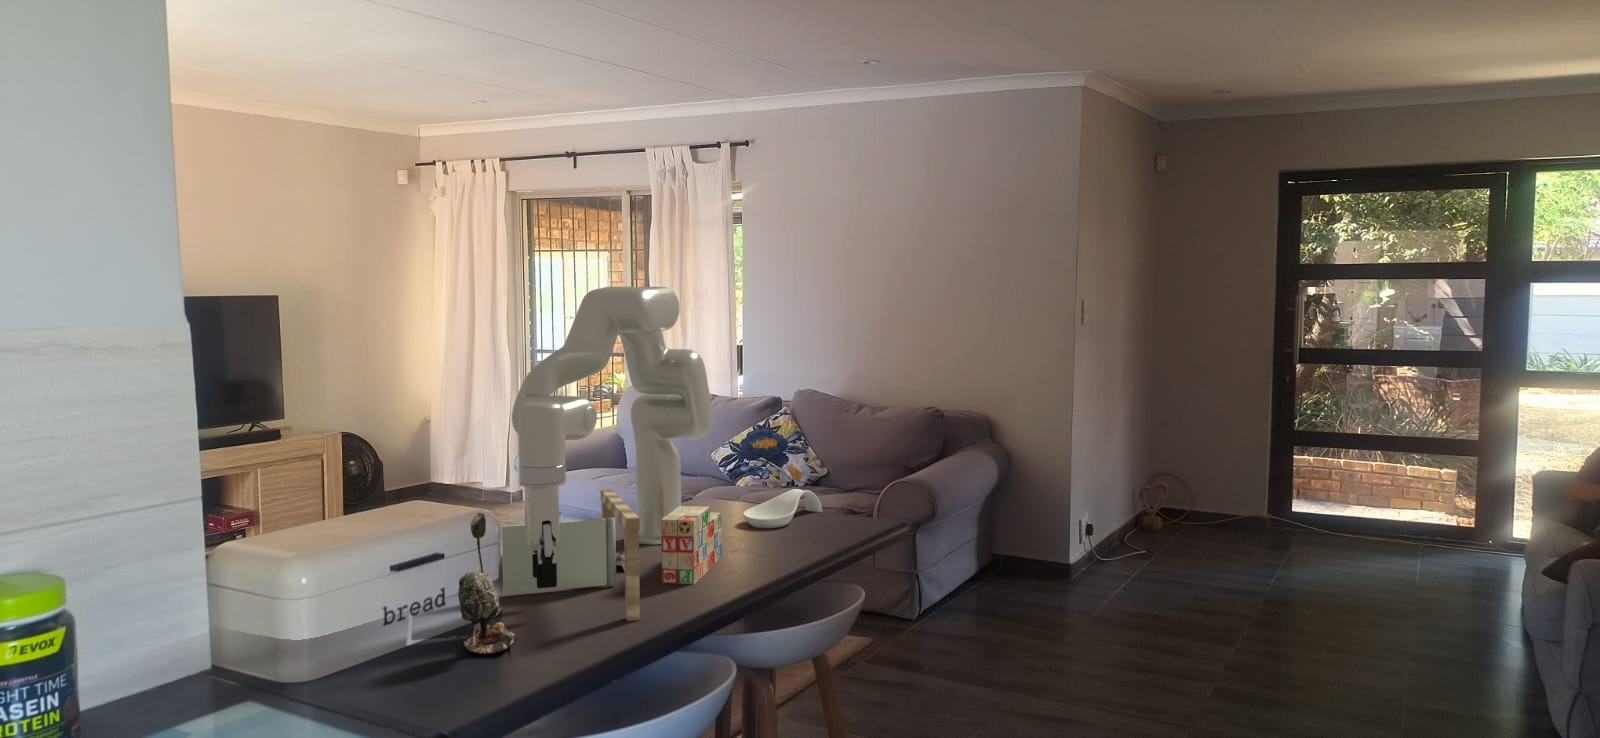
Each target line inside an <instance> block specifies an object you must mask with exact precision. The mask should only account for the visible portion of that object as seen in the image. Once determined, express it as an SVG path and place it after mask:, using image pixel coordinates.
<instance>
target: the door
mask: <svg viewBox="0 0 1600 738" xmlns="http://www.w3.org/2000/svg"><path fill="white" fill-rule="evenodd" d="M606 536H607V569H606ZM616 538H617V537H616V517H614V518H606V519H605V518H602V517H601V518H592V519H591V518H590V519H575V520H562V521H561V520H560V527H559V543H558V544H557V545H556V546H555V558H556V563H557V586H556V587H549V588H538V587H537V578H534V577H533V562H532V554H534V553H533V548H531V547H530V546H529V545H528V543H527V541H526V539H525V523H521V524H504V525H501V546H502V547H501V548H502V549H501V552H502V553H501V554H502V559H501V560H502V588H503V589H502V593H503V595H513V594H524V593H534V592H535V593H536V592H546V591H557V590H567V589H568V590H569V589H579V588H591V587H603V586H607V585H609V586H614V585H617V565H616V553H617V551H616V545H617V544H616V542H617V541H616ZM535 554H537V553H535Z"/></svg>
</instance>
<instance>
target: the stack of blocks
mask: <svg viewBox="0 0 1600 738" xmlns="http://www.w3.org/2000/svg"><path fill="white" fill-rule="evenodd" d="M710 508H711V507H710V506H696V505H695V506H690V505H689V506H688V505H681V506H679V507H677V508H676V509H675V510H674V511H672V512H671V513H670V514H668V515H667V516H665V517H664V518H662V519H661V534H662V536H661V544H660V545H661V546H660V548H661V549H660V551H661V584H663V583H673V584H674V583H676V584H674V585H696V583H697V582H698V581H699V580H700V579H702V577H703V576H704V575H706V573H707V572H708V570H709V569H710V568H711V567H712V566H713V565H714V564H716V563H717V562H716V561H717V560H718V561H719V559H720V558H721V557H722V555H723V554H722V553H723V550H722V549H723V548H722V547H723V544H722V542H723V540H722V537H723V536H722V533H723V531H722V516H721V514H722V513H721V512H713V511H710V510H711V509H710ZM715 562H716V563H715ZM713 563H714V564H713ZM709 567H710V568H709ZM673 584H672V585H673Z"/></svg>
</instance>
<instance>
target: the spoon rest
mask: <svg viewBox="0 0 1600 738" xmlns="http://www.w3.org/2000/svg"><path fill="white" fill-rule="evenodd" d="M802 496H803V497H804V499H805V511H808V512H814V513H815V512H816V513H821V512H823V508H822V504H821V501H820V500H819V498H818V496H817V495H816V494H815V493H814V492H813V491H811V490H806V489H804V490H803V489H800V488H793V489H790V490H786V491H785V492H783V493H781V494H779V495H777V496H775V497H772V498H771V499H769V500H767V501H764V502H762V503H760V504H757V505H754V506H752V507H749V508H747V509H746V510H744V511H743V512H742V516H743V519H744V520H745V521H746V522H747V523H748V524H749V525H750V526H752V527H753V528H758V529H759V528H760V529H775V528H777V529H778V528H781V527H782V528H783V527H785V526H787V525H788V524H789V523H790V522H791V521H792V519H793V518H794V515H795V513H796V511H797V509H798V506H799V503H800V502H799V501H800V499H801V497H802Z"/></svg>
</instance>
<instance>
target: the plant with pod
mask: <svg viewBox="0 0 1600 738" xmlns="http://www.w3.org/2000/svg"><path fill="white" fill-rule="evenodd" d="M486 522H487V520H486V517H485V513H483V512H477V513H476V515H475V516H474V517H473V518H472V520H471V522H470V533H471V536H473V538H474V539H476V545H477V552H478V553H477V554H478V560H479V566H480V570H475V571H468V572H466V573H464V574H463V575H461V577H460V578H459V581H458V586H459V587H458V593H457V595H458V602H459V609H460V613H461V618H462V619H463V620H464V621H469V622H471V625H472V628H471V637H470V638H467V639H466V641H465V640H463V643H464V645H463V646H464V647H465V649H466V650H467V651H469V652H471V653H472V652H473V653H476V654H494V653H496V652H497V653H498V652H499V651H504V650H506V649H508V648H509V647H510V646H511V645H512V644H513V643H515V637H516V634H515V633H514V631H512V630H508V629H507V627H506V625H505V624H504V622H500V621H499V622H496V623H495V624H494V625H491V620H492V619H493V618H495V617H497V616H498V615H499V610H500V604H499V595H498V594H497V591H496V588H495V585H494V582H493V580H492V578H491V577H490V575H489V574H488V573H487V572H485V571H484V569H483V562H482V561H483V560H482V554H481V540H480V539H481V538H483V537H484V536H485V534H486V531H487V530H486V527H487V525H486V524H487V523H486ZM456 575H457V576H459V574H458V573H457V574H456Z"/></svg>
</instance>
